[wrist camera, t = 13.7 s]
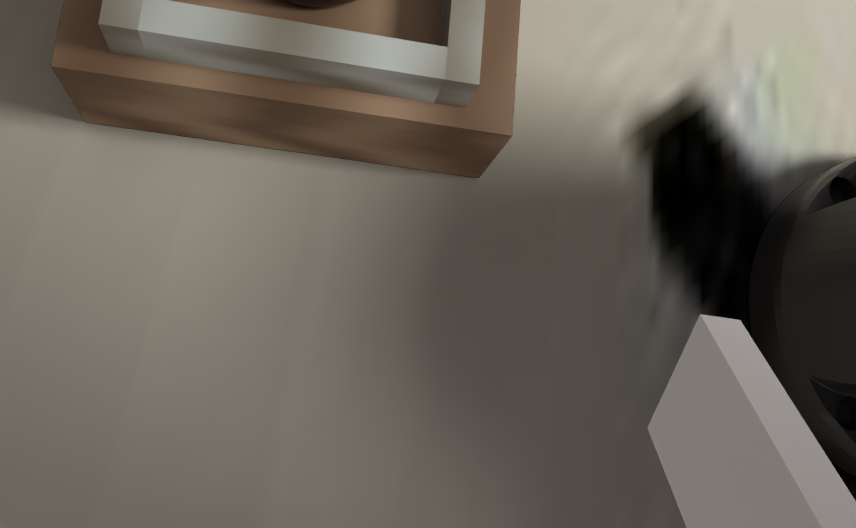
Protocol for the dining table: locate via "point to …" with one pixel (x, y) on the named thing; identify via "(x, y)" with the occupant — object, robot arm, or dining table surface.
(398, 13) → the walnut tray
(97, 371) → the dining table surface
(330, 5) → the supplement bottle
